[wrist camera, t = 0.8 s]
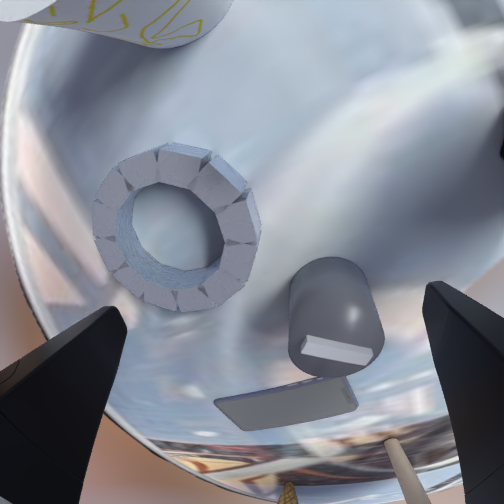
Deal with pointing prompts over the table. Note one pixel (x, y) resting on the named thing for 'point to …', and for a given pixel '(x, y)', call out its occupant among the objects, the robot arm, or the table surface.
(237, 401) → the smartphone
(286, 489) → the ice cream cone
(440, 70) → the table surface
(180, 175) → the segmented grey ring
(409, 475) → the planter
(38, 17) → the grey cylinder
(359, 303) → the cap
